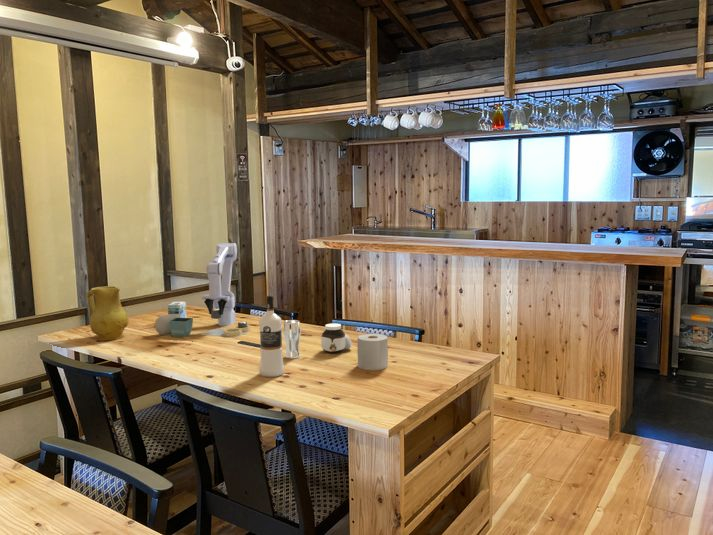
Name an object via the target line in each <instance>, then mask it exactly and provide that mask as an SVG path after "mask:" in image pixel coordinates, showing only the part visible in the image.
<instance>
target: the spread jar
mask: <svg viewBox="0 0 713 535" xmlns="http://www.w3.org/2000/svg"><path fill="white" fill-rule="evenodd" d="M324 326H325V330H323V332H322V334H321V338H320V339H321V340H320V341H321V342H320V343H321V348H322V350H323V351H324V352H325V354H331V355H332V354H333V355H337V354H341V353H342V352H343V351H344V350H349V349H351V348H352V347H353V340H352V339H351V337H350V336H349V335H348V334H346V333H345V332H344V330H343V329H342V324H341V323H327V324H325V325H324Z"/></svg>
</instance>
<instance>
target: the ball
mask: <svg viewBox="0 0 713 535" xmlns="http://www.w3.org/2000/svg"><path fill="white" fill-rule="evenodd" d="M172 319H174V318H173V317H172V316H170V315H168V314H162V315H160V316H158V317H157V319H156V320H155V322H154V329H155V331H156V332H157V334H159V335H161V336H167V335H169V334H171V331H170V326H169V321H170V320H172Z"/></svg>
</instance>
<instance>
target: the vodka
mask: <svg viewBox="0 0 713 535" xmlns="http://www.w3.org/2000/svg"><path fill="white" fill-rule="evenodd" d="M274 306H275V305H274V295H266V313H264V314H263V315H262V316H261V317H260V318H259V321H258V324H259V334H260V335H259V336H260V337H259V338H260V339H259V340H260V349H259V350H260V364H259V374H260V375H261V376H262V377H265V378H275V377H280V376H281V375H283V374H284V373H285V366H284V359H283V342H282V340H283V338H282V337H283V335H282V333H283V332H282V329H283V326H282V324H283V321H282V318H281V317H280V316H279V315H278V314H276V313H275V311H274V310H275V309H274Z"/></svg>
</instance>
